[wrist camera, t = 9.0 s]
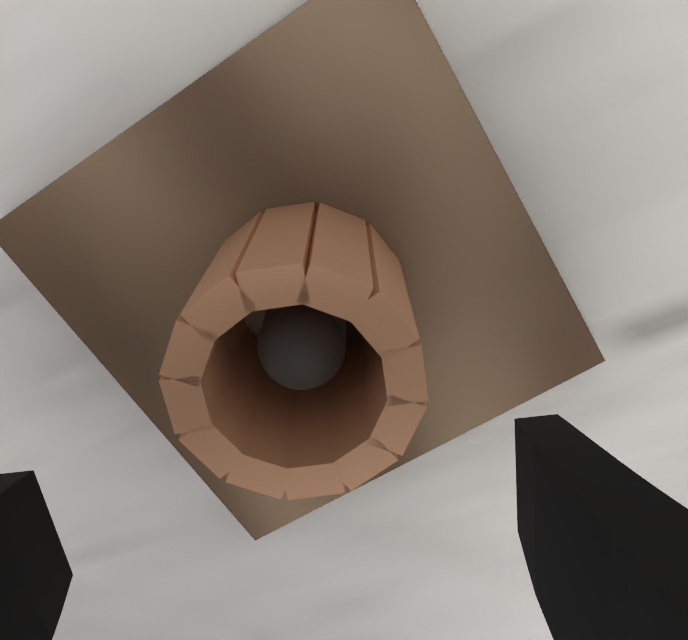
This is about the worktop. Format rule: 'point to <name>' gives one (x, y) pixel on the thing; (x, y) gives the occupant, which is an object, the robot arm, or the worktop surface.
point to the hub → (281, 402)
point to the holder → (319, 187)
